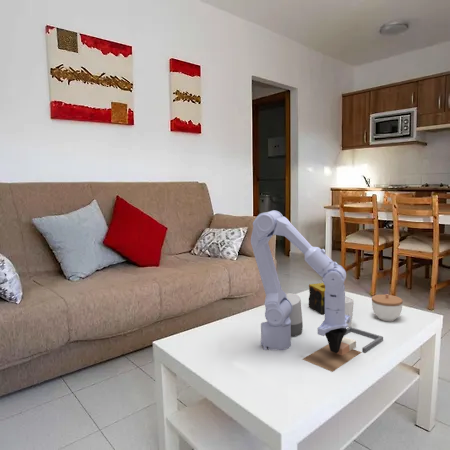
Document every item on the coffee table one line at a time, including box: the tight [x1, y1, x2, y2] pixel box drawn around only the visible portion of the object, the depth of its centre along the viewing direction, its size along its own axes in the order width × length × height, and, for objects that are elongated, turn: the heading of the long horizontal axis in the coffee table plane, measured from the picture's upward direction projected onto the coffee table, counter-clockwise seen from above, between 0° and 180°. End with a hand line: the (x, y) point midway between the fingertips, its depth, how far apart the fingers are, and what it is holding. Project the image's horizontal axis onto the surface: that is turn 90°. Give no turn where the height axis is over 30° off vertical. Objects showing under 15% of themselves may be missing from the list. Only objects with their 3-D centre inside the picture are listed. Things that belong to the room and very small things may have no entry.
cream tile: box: [342, 336, 357, 351], centre depth 112 cm, size 4×4×2 cm
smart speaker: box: [286, 292, 304, 338], centre depth 124 cm, size 10×9×14 cm
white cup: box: [345, 295, 354, 328], centre depth 132 cm, size 8×8×10 cm
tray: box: [344, 326, 384, 354], centre depth 116 cm, size 12×12×3 cm
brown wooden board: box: [302, 343, 363, 373], centre depth 106 cm, size 16×10×2 cm, turn 131°
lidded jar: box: [371, 293, 404, 322], centre depth 137 cm, size 11×11×9 cm
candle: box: [308, 282, 325, 315], centre depth 149 cm, size 10×10×10 cm
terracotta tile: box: [331, 342, 349, 355], centre depth 109 cm, size 4×4×2 cm
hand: (334, 351), depth 107 cm, fingers closed
